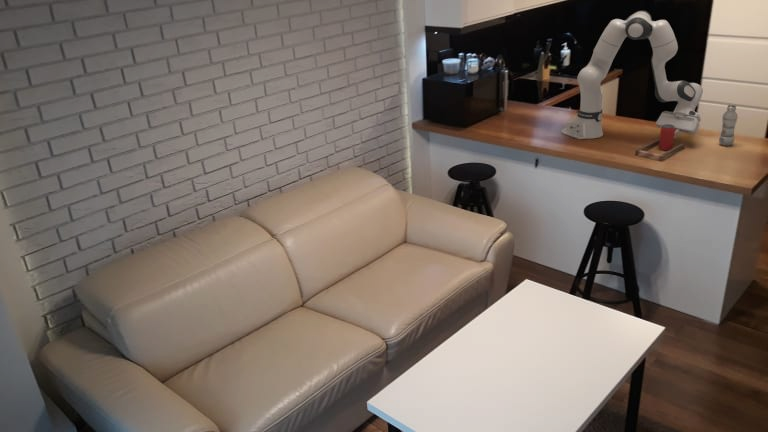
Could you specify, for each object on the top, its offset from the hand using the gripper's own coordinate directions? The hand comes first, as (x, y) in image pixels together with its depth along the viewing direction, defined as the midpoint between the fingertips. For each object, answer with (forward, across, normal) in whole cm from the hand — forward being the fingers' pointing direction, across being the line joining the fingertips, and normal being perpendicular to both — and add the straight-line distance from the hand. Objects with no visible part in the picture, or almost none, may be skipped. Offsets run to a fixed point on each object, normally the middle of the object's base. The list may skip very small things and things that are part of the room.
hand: (670, 137), depth 309 cm
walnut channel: (+11, 0, -4) cm, 11 cm away
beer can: (+6, 0, +1) cm, 7 cm away
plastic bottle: (-8, +20, +15) cm, 27 cm away
